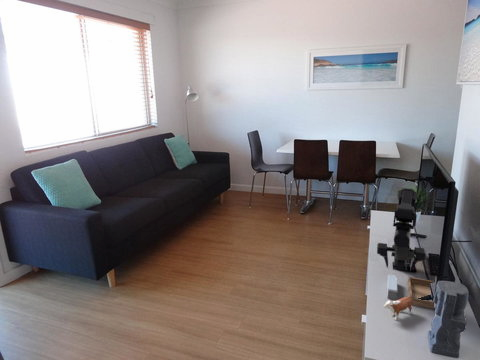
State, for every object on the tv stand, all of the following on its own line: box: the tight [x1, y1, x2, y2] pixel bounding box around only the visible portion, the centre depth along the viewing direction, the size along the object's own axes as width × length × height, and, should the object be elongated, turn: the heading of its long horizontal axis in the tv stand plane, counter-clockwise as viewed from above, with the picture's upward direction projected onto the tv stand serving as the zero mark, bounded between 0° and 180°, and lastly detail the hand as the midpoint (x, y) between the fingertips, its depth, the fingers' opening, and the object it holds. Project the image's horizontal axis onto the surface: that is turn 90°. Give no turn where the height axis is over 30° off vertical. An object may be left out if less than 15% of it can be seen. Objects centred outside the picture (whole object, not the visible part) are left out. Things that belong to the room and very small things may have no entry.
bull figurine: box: [383, 295, 413, 321], centre depth 141 cm, size 4×13×8 cm, turn 111°
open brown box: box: [407, 276, 435, 310], centre depth 154 cm, size 17×11×3 cm, turn 159°
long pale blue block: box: [386, 274, 398, 301], centre depth 158 cm, size 13×4×4 cm, turn 159°
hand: (398, 268), depth 152 cm, fingers open, 9 cm apart
